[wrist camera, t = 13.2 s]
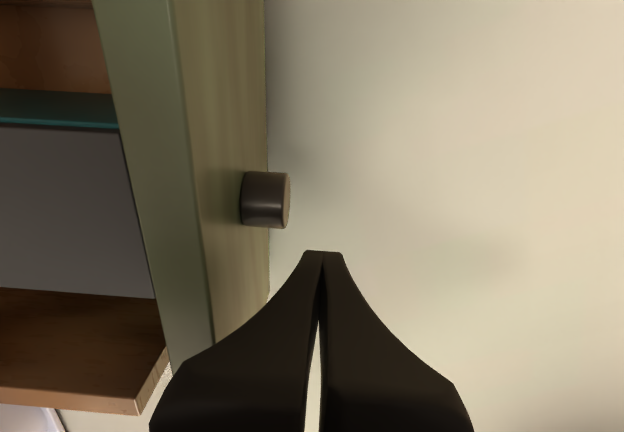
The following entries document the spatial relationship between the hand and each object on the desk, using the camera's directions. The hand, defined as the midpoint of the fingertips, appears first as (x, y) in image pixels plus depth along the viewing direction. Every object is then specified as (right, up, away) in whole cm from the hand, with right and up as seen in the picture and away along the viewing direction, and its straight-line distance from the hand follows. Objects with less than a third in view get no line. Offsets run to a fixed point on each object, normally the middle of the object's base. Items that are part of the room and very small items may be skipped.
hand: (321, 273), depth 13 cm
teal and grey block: (-8, +4, -1) cm, 9 cm away
